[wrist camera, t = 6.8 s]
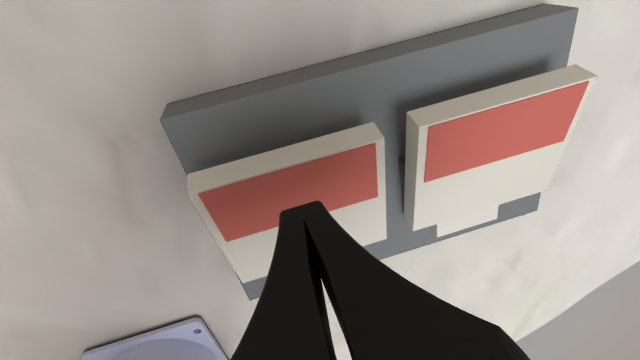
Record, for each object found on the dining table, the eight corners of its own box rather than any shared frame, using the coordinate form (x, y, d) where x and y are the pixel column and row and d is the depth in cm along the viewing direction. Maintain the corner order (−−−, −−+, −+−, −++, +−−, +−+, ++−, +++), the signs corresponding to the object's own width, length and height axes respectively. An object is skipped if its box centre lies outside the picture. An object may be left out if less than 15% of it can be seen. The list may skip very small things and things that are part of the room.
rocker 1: (378, 222, 20) (387, 240, 19) (240, 264, 19) (242, 284, 18) (373, 121, 15) (385, 138, 14) (187, 174, 14) (186, 195, 13)
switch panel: (515, 193, 24) (544, 216, 22) (248, 275, 22) (250, 308, 20) (545, 3, 17) (589, 9, 15) (167, 103, 16) (157, 126, 14)
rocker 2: (532, 176, 20) (547, 190, 19) (403, 215, 20) (413, 232, 19) (575, 64, 15) (599, 76, 14) (406, 111, 15) (420, 128, 14)
